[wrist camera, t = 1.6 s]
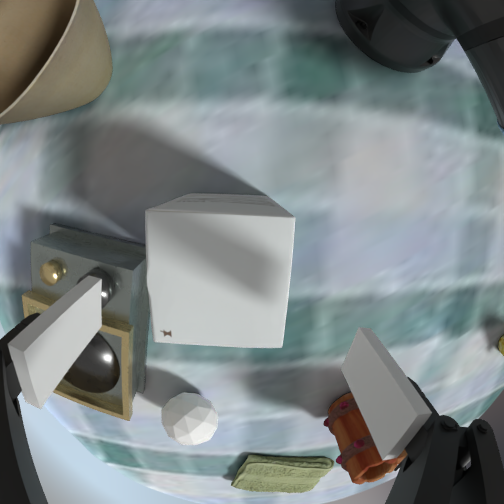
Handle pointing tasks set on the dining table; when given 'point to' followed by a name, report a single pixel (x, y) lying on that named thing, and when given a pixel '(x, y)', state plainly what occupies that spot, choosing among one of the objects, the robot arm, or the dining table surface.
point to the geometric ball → (189, 419)
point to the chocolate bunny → (501, 345)
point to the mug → (357, 442)
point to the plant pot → (50, 57)
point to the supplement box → (219, 270)
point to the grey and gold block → (112, 311)
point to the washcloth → (281, 473)
